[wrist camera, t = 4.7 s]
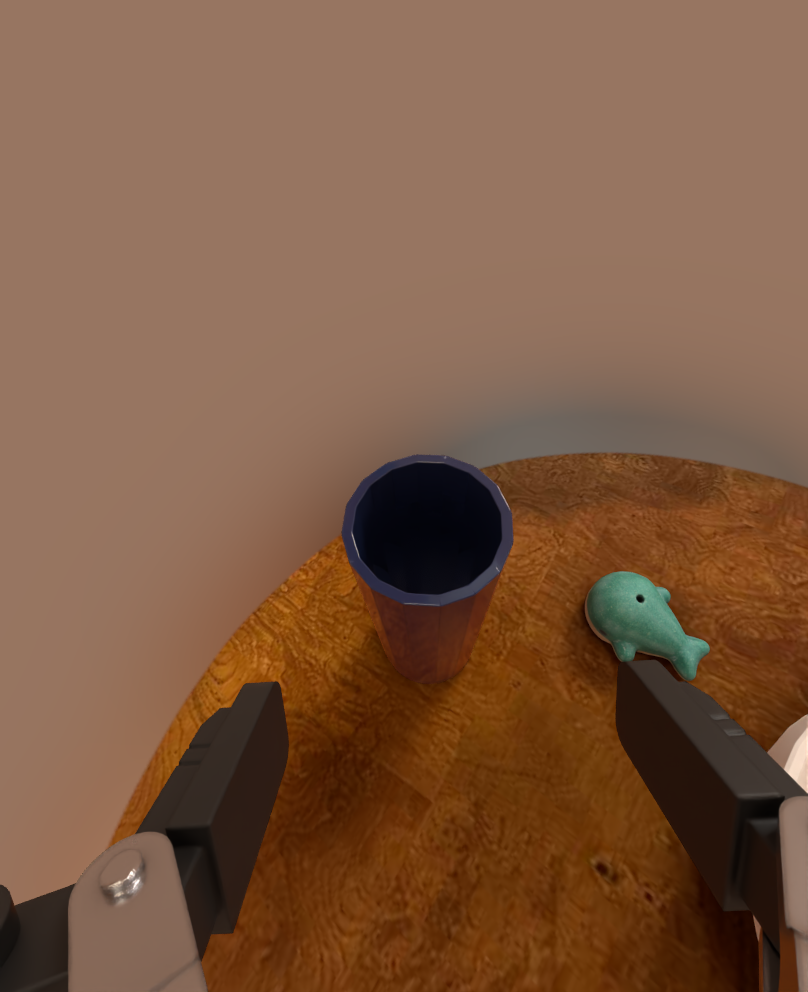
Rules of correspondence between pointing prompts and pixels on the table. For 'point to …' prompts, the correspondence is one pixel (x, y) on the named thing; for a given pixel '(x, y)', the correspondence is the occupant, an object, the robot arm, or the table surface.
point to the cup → (427, 559)
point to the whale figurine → (641, 622)
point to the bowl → (792, 759)
